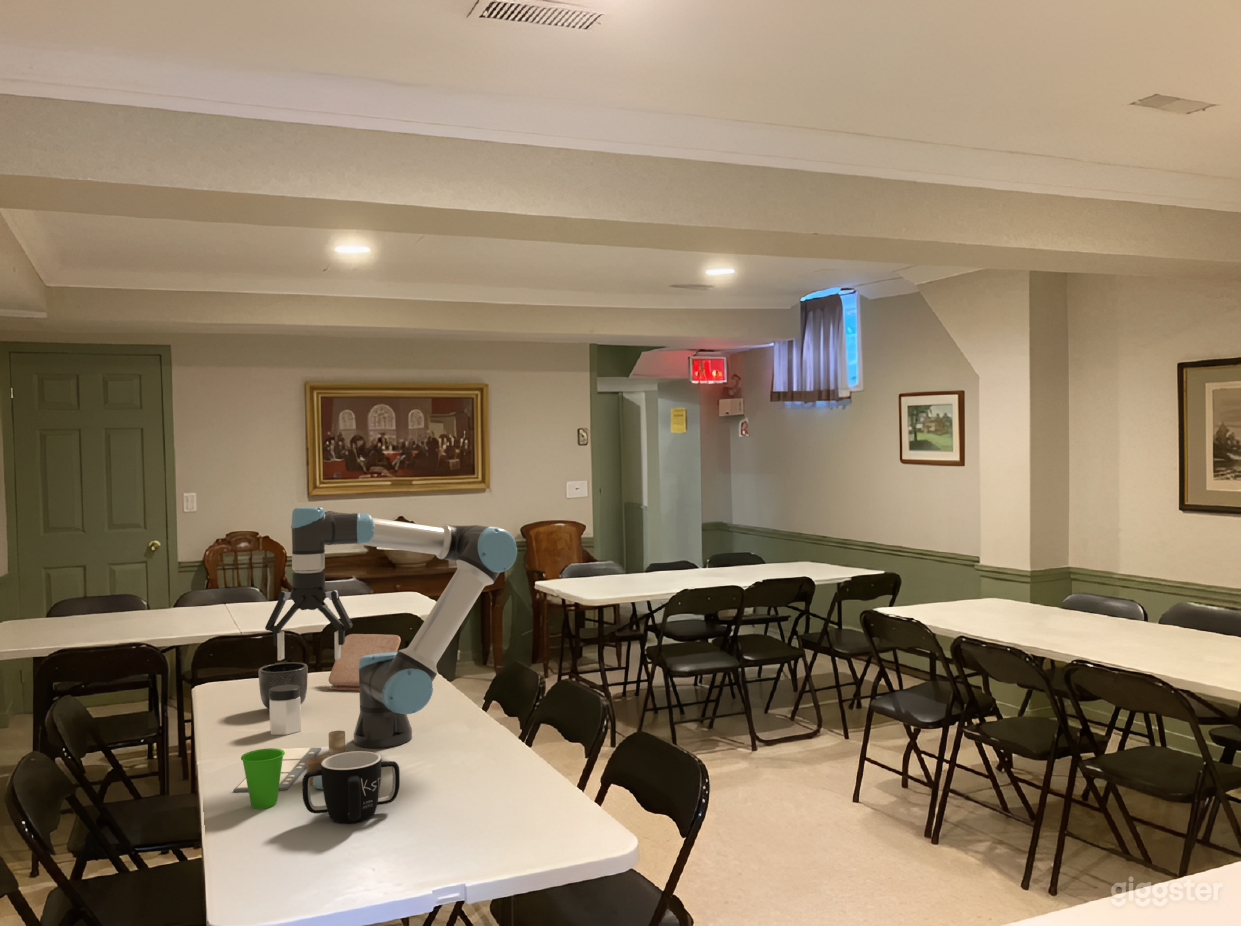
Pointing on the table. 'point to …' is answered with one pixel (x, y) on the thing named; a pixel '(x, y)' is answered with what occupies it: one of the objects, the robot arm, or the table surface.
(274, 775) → the cup
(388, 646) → the case
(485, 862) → the table surface
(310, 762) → the walnut block
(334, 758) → the mug
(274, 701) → the jar
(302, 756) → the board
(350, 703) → the table surface
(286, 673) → the planter
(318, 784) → the dusty blue ball
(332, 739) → the beech cylinder
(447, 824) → the table surface
